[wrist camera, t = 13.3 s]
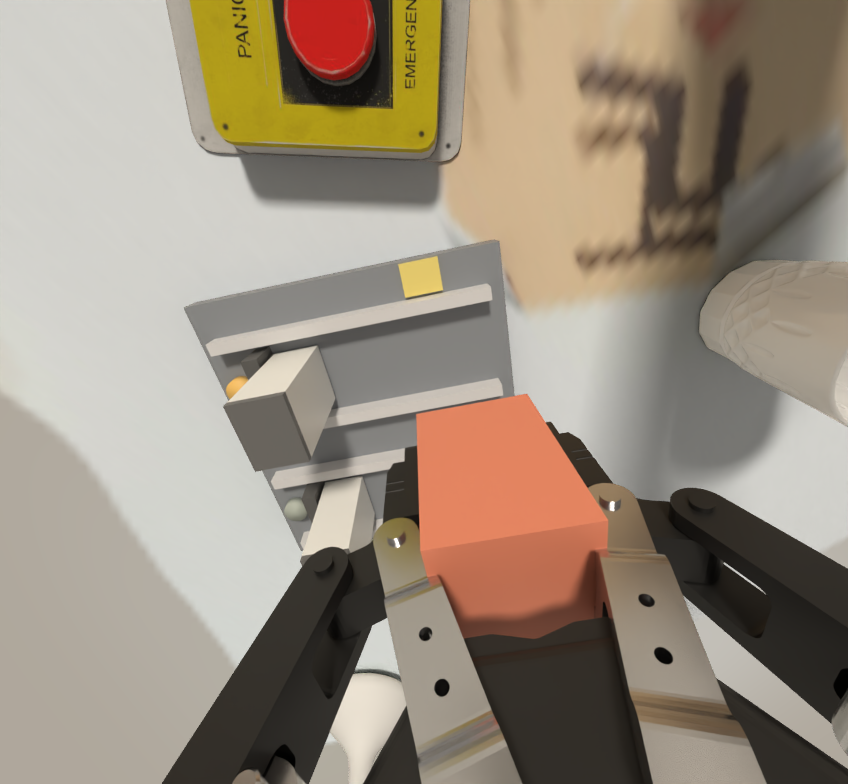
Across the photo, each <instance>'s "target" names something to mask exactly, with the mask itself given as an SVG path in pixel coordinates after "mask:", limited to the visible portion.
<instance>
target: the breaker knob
mask: <svg viewBox="0 0 848 784" xmlns="http://www.w3.org/2000/svg"><path fill="white" fill-rule="evenodd" d="M374 515H375V513H374V510H373V507H372V504H371V501H370V498H369V495H368V492H367V489H366V486H365V483H364V480H363V477H362V476H358V477H352V478H347V479H341V480H336V481H330V482H325V485H324V488H323V491H322V494H321V497H320V501H319V504H318V507H317V510H316V513H315V516H314V519H313V523H312V526H311V529H310V532H309V535H308V538H307V541H306V545H305V548H304V551H303V554H302V557H301V560H300V562H301V564H302V566H303V565H304V563H305V562H306V561H307V559H308V558H309V557H310V556H312V555H313V554H314V553H316V552H317V551H319V550H321V549H324V548H327V547H339V548H341V549H343V550H344V551H345V552H346V553H347V554H349V553H352V552H354V551H356V550H358V549H360V548H362V547H364V546H366V545H368V544H369V543H371V540H372V532H373V524H374Z"/></svg>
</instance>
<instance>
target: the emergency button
mask: <svg viewBox="0 0 848 784" xmlns="http://www.w3.org/2000/svg"><path fill="white" fill-rule="evenodd" d="M166 4H167V9H168V14H169V19H170V24H171V29H172V34H173V39H174V44H175V49H176V54H177V59H178V64H179V69H180V74H181V79H182V84H183V89H184V94H185V99H186V104H187V109H188V114H189V119H190V124H191V129H192V133H193V135H194V137H195V139H196V141H197V143H199V144H200V145H201V146H202V147H203V148H204V149H206V150H209V151H212V152H215V153H228V154H253V155H278V156H304V157H329V158H354V159H379V160H404V161H430V162H443V161H447V160H451V159H452V158H453V157H454V156H455V155H456V154H457V153H458V150H459V147H460V144H461V135H462V119H463V103H464V86H465V70H466V54H467V38H468V22H469V6H470V0H166Z"/></svg>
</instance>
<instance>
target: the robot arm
mask: <svg viewBox="0 0 848 784" xmlns="http://www.w3.org/2000/svg"><path fill="white" fill-rule="evenodd" d="M545 423H546V424H547V426H548V427H549V429H550V430H551V432H552V434H553V435H554V437H555V438H556V440H557V441H558V443H559V444H560V446H561V448H562V449H563V451H564V452H565V454H566V455H567V457H568V458H569V460H570V462H571V463H572V465H573V466H574V468H575V469H576V471H577V472H578V474H579V476H580V477H581V479H582V480H583V482H584V483H585V485H586V486H587V488H588V490H589V491H590V493H591V494H592V496H593V497H594V499H595V500H596V502H597V504H598V505H599V507H600V508H601V510H602V511H603V513H604V514H605V516H606V518H607V519H608V541H607V548H604V549H596V550H595V572H596V606H594V619H588V620H582V621H575V622H572V623H570V624H568V625H566V626H564V627H561V628H559V629H557V630H555V631H553V632H551V633H549V634H546V635H544V636H542V637H540V638H537V639H530V638H521V637H513V636H504V635H496V634H489V635H482V636H476V637H469V638H463V636H462V634H461V631H460V629H459V626H458V624H457V621H456V619H455V616H454V614H453V611H452V609H451V606H450V603H449V601H448V598H447V596H446V593H445V591H444V588H443V586H442V583H441V581H440V579H439V577H437V575H435V576H430V577H427V574H426V570H425V566H424V563H423V559H422V555H421V552H420V524H419V489H418V455H417V446H411V447H406V448H405V456H404V461H403V462H398V463H393V465H392V466H391V468H390V469H389V471H388V472H387V479H386V490H385V492H386V494H385V502H384V513H383V524H382V525H381V526H380V527H379V528H378V529H377V531H376V532H375V534H374V537H373V541H372V542H371V543H369V544H368V545H366V546H364V547H362V548H360V549H358V550H356V551H354V552H352V553H349V554H347V553H346V552H345V551H344V550H343V549H341V548H339V547H327V548H324V549H321V550H319V551H317V552H316V553H314V554H313V555H312V556H310V557H309V558H308V559H307V561H306V562H305V563H304V565H303V566H302V568H301V569H300V571H299V572H298V574H297V575H296V577H295V579H294V580H293V582H292V583H291V585H290V586H289V588H288V589H287V591H286V592H285V594H284V596H283V597H282V599H281V600H280V602H279V603H278V605H277V606H276V608H275V609H274V611H273V613H272V614H271V616H270V617H269V619H268V620H267V622H266V623H265V625H264V626H263V628H262V630H261V631H260V633H259V634H258V636H257V637H256V639H255V640H254V642H253V643H252V645H251V647H250V648H249V650H248V651H247V653H246V654H245V656H244V657H243V659H242V660H241V662H240V663H239V665H238V667H237V668H236V670H235V671H234V673H233V674H232V676H231V678H230V679H229V681H228V682H227V684H226V685H225V687H224V688H223V690H222V691H221V693H220V694H219V696H218V697H217V699H216V701H215V702H214V704H213V705H212V707H211V708H210V710H209V711H208V713H207V714H206V716H205V718H204V719H203V721H202V722H201V724H200V725H199V727H198V728H197V730H196V731H195V733H194V735H193V736H192V738H191V739H190V741H189V742H188V744H187V745H186V747H185V748H184V750H183V752H182V753H181V755H180V756H179V758H178V759H177V761H176V762H175V764H174V765H173V767H172V769H171V770H170V772H169V773H168V775H167V776H166V778H165V779H164V781H163V782H162V784H309V782H310V779H311V777H312V774H313V772H314V769H315V767H316V765H317V762H318V759H319V757H320V755H321V752H322V749H323V747H324V745H325V742H326V740H327V737H328V735H329V732H330V730H331V727H332V725H333V722H334V720H335V717H336V715H337V712H338V710H339V707H340V705H341V702H342V700H343V698H344V695H345V693H346V690H347V688H348V685H349V683H350V680H351V678H352V675H353V673H354V670H355V668H356V665H357V663H358V660H359V658H360V655H361V653H362V650H363V648H364V645H365V643H366V640H367V638H368V635H369V633H370V630H371V627H372V625H374V624H376V623H378V622H380V621H382V620H384V619H386V618H388V622H389V627H390V632H391V636H392V641H393V645H394V650H395V655H396V659H397V664H398V669H399V673H400V678H401V682H402V687H403V692H404V696H405V701H406V707H405V709H404V710H403V712H402V714H401V716H400V718H399V719H398V721H397V723H396V725H395V727H394V729H393V730H392V732H391V734H390V736H389V738H388V739H387V741H386V743H385V745H384V747H383V748H382V750H381V752H380V754H379V756H378V758H377V759H376V761H375V763H374V765H373V766H372V768H371V770H370V772H369V774H368V775H367V777H366V779H365V781H364V783H363V784H848V769H847V768H845V767H844V766H843V765H841V764H840V763H838V762H837V761H835V760H834V759H833V758H831V757H830V756H828V755H827V754H825V753H824V752H822V751H821V750H819V749H818V748H817V747H815V746H814V745H812V744H811V743H809V742H808V741H806V740H805V739H804V738H802V737H800V736H799V735H798V734H796V733H795V732H793V731H792V730H790V729H789V728H788V727H786V726H785V725H783V724H782V723H780V722H779V721H778V720H776V719H775V718H773V717H772V716H770V715H769V714H767V713H766V712H765V711H763V710H762V709H760V708H759V707H757V706H756V705H754V704H753V703H752V702H750V701H749V700H747V699H746V698H744V697H743V696H741V695H740V694H738V693H737V692H735V691H734V690H733V689H731V688H730V687H728V686H727V685H725V684H724V683H723V682H721V681H720V680H718V679H717V678H716V677H715V674H714V672H713V670H712V667H711V664H710V662H709V660H708V657H707V654H706V652H705V649H704V647H703V645H702V642H701V640H700V637H699V634H698V632H697V629H696V627H695V625H694V622H693V620H692V617H691V615H690V612H689V610H688V607H687V605H686V602H685V600H684V597H683V595H684V596H685V597H686V598H687V599H688V600H689V601H690V602H692V603H693V604H694V605H695V606H696V607H697V608H699V609H700V610H701V611H702V612H703V613H704V614H705V615H707V616H708V617H709V618H710V619H711V620H712V621H714V622H715V623H716V624H717V625H718V626H719V627H721V628H722V629H723V630H724V631H725V632H726V633H727V634H729V635H730V636H731V637H732V638H733V639H735V641H737V642H738V643H739V644H740V645H741V646H742V647H744V648H745V649H746V650H747V651H748V652H749V653H750V654H752V655H753V656H754V657H755V658H756V659H758V660H759V661H760V662H761V663H762V664H763V665H764V666H765V667H767V668H768V669H769V670H770V671H771V672H772V673H774V674H775V675H776V676H777V677H778V678H779V679H780V680H782V681H783V682H784V683H785V684H786V685H788V686H789V687H790V688H791V689H792V690H793V691H794V692H796V693H797V694H798V695H799V696H800V697H801V698H802V699H804V700H805V701H806V702H807V703H808V704H809V705H810V706H812V707H813V708H814V709H815V710H816V711H818V712H819V713H820V714H821V715H822V716H824V718H825V719H827V720H828V721H829V722H830V723H831V724H832V727H833V731H834V734H835V737H836V739H837V741H838V742H839V744H840V746H841V747H842V749H843V750H844V752H845V753H846V754H847V755H848V569H847V568H845V567H844V566H842V565H840V564H838V563H837V562H835V561H833V560H832V559H830V558H828V557H826V556H825V555H823V554H821V553H819V552H818V551H816V550H814V549H812V548H811V547H809V546H807V545H805V544H804V543H802V542H800V541H798V540H797V539H795V538H793V537H791V536H790V535H788V534H786V533H784V532H783V531H781V530H779V529H777V528H776V527H774V526H772V525H770V524H769V523H767V522H765V521H763V520H762V519H760V518H758V517H756V516H754V515H753V514H751V513H749V512H747V511H746V510H744V509H742V508H740V507H739V506H737V505H735V504H733V503H732V502H730V501H728V500H726V499H725V498H723V497H721V496H719V495H717V494H715V493H713V492H711V491H707V490H704V489H698V488H684V489H680V490H677V491H676V492H674V493H673V494H672V496H671V499H670V502H665V501H651V500H642V499H638V498H636V497H635V496H634V494H633V493H632V492H630V491H629V490H628V489H626V488H624V487H622V486H619V485H616V484H613V483H612V481H611V480H610V479H609V477H608V476H607V475H606V473H605V472H604V471H603V469H602V468H601V467H600V465H599V464H598V463H597V461H596V460H595V459H594V458H593V457H592V455H591V453H590V452H589V451H588V450H587V448H586V447H585V445H584V444H583V443H582V441H581V440H580V439H579V438H577V437H575V436H574V435H572V434H570V433H569V432H567V433H561V434H559V433H558V431H557V430H556V428H555V427H554V425H553V424H552V423H551V422H545ZM724 562H725V563H726V564H728V565H729V566H731V567H732V568H733V569H735V570H736V571H738V572H739V573H740V574H742V575H743V576H745V577H746V578H747V579H749V580H750V581H752V582H753V583H754V584H756V585H757V586H758V587H760V588H761V589H762V590H763V591H764V592H765V593H766V594H764V593H763V592H762V591H760V590H759V589H757V588H756V587H755V586H753V585H752V584H751V583H749V582H748V581H746V580H745V579H744V578H742V577H741V576H739V575H738V574H737V573H735V572H734V571H732V570H731V569H730V568H728V567H727V566H725V565H724V564H723V563H724Z"/></svg>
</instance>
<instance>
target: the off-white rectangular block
mask: <svg viewBox="0 0 848 784" xmlns="http://www.w3.org/2000/svg"><path fill="white" fill-rule="evenodd" d="M334 401H335V395H334V392H333V389H332V386H331V383H330V380H329V377H328V374H327V371H326V368H325V365H324V362H323V360H322V357H321V354H320V351H319V348H318V345H317V346H312V347H307V348H302V349H296V350H291V351H286V352H281V353H276V354H274V355H273V356H272V357H271V358H270V359H269V360H268V361H267V362H266V363H265V364H264V365H263V366H262V367H261V368H260V369H259V370H258V371H257V372H256V373H255V374H254V375H253V376H252V377H251V378H250V379H249V380H248V381H247V382H246V383H245V384H244V385H243V387H242V388H241V389H240V390H239V391H238V392H237V393H236V394H235V395H234V396H233V397H232V398H231V399H230V400H229V401H228V402H227V403H226V404H225V405H224V406H223V407H224V409H225V411H226V413H227V415H228V418H229V420H230V422H231V424H232V426H233V428H234V430H235V432H236V434H237V436H238V438H239V440H240V442H241V444H242V446H243V448H244V450H245V452H246V454H247V456H248V458H249V460H250V462H251V464H252V466H253V468H254V470H255V472H256V471H261V470H267V469H272V468H278V467H283V466H289V465H294V464H300V463H305V462H310V460H311V457H312V455H313V452H314V450H315V448H316V445H317V443H318V440H319V438H320V435H321V433H322V430H323V428H324V425H325V423H326V421H327V418H328V416H329V413H330V411H331V408H332V406H333V403H334Z"/></svg>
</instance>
